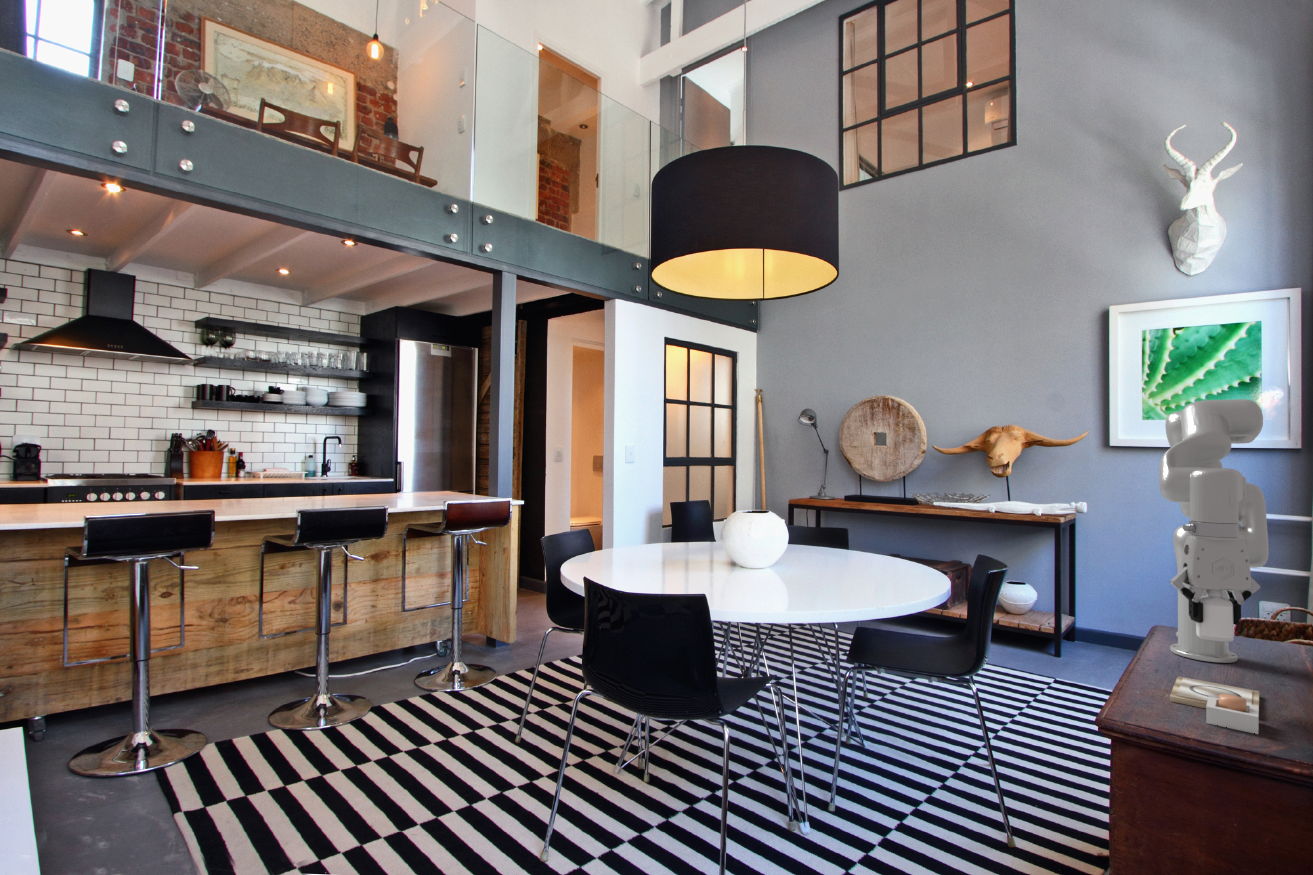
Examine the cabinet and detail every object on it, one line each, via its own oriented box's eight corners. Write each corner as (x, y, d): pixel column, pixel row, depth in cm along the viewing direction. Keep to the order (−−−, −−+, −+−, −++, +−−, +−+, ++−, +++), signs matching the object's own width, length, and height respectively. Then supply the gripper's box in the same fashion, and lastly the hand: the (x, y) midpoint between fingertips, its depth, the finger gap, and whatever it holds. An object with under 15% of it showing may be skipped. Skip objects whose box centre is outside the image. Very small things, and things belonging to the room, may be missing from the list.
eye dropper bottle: (1230, 644, 130) (1229, 581, 131) (1194, 637, 135) (1193, 577, 135) (1235, 640, 133) (1235, 579, 133) (1200, 634, 137) (1199, 575, 138)
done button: (1219, 704, 124) (1219, 692, 125) (1246, 710, 122) (1246, 697, 122) (1218, 710, 122) (1218, 697, 122) (1246, 716, 119) (1246, 703, 119)
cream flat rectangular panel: (1177, 680, 144) (1177, 674, 144) (1259, 696, 135) (1259, 689, 135) (1169, 701, 132) (1169, 694, 132) (1258, 719, 123) (1258, 712, 124)
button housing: (1208, 712, 127) (1208, 696, 127) (1258, 722, 122) (1258, 705, 122) (1206, 723, 121) (1206, 706, 122) (1258, 734, 117) (1258, 716, 117)
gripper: (1175, 531, 133) (1175, 624, 132) (1277, 534, 129) (1278, 630, 129) (1155, 527, 140) (1156, 615, 139) (1251, 530, 136) (1252, 620, 136)
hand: (1214, 621), depth 134 cm, fingers closed on eye dropper bottle, 5 cm apart
